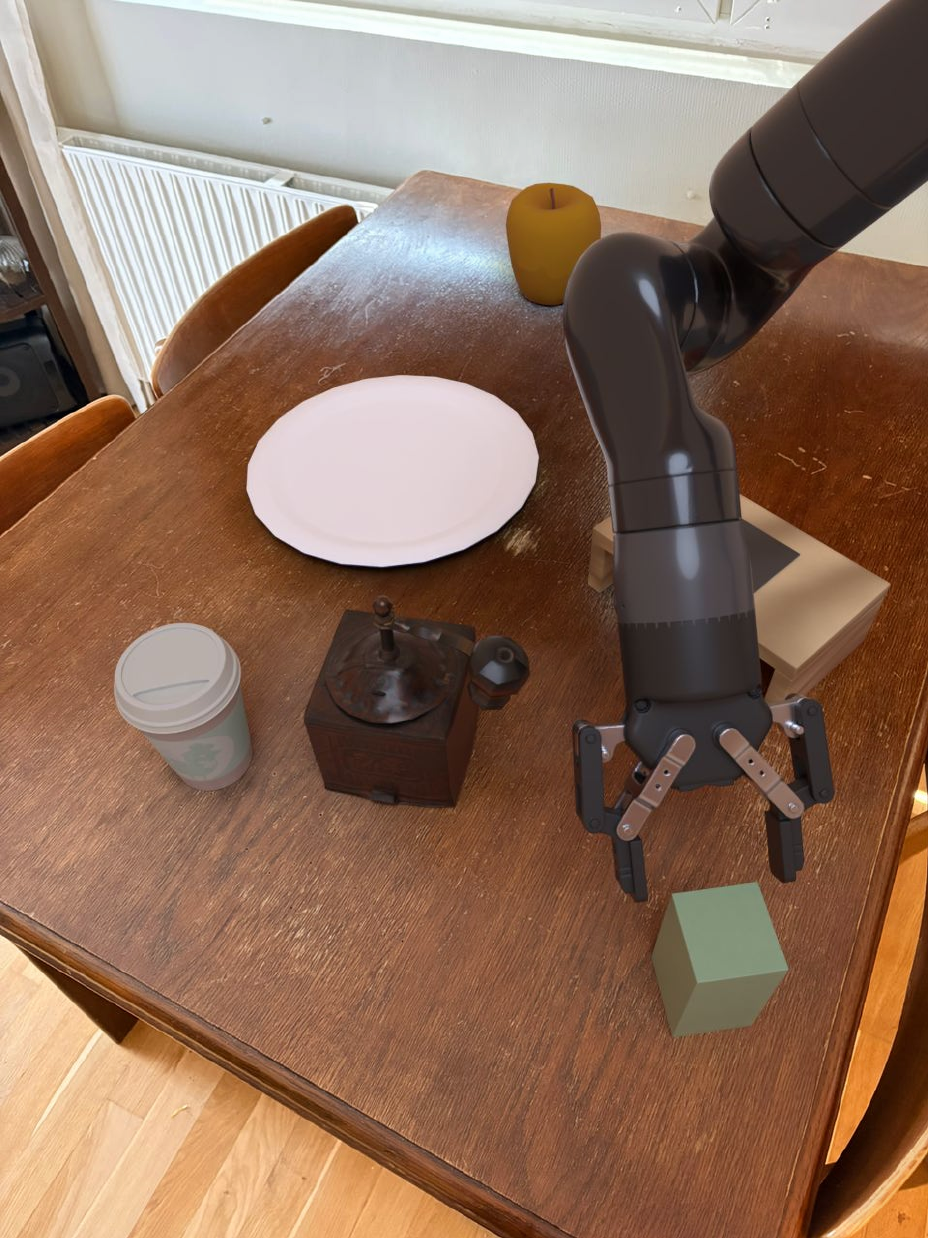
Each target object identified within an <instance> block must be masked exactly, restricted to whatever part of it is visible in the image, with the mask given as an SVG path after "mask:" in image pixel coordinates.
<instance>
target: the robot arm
mask: <svg viewBox="0 0 928 1238" xmlns="http://www.w3.org/2000/svg"><path fill="white" fill-rule="evenodd" d="M927 182H928V0H889V1H887V2H886V3H885V4H884V5H883V6H881V7H880V8H879V9H878V10H876V11H875V12H874V13H872V14H871V16H870V15H869V17H868V18H867V19H865V20H864V21H863V22H862V23H861V24H860V25H858V26H857V27H856V28H855V29H854V30H853V31H851V32H850V33H849V34H848V35H847V36H846V37H844V39H842V40H841V41H840V42H839V43H838V44H837V45H836V46H835V47H833V48H832V49H831V50H830V51H829V52H828V53H827V54H826V55H825V56H824V57H823V58H822V59H821V60H819V61H817V63H816V64H815V65H813V67H811V69H809V71H807V72H806V73H805V74H804V75H803V76H802V77H801V78H800V79H799V80H798V81H797V82H796V83H795V84H794V85H793V86H792V87H791V88H790V89H789V90H788V91H787V92H786V93H785V94H783V95H782V96H781V97H780V98H779V100H777V102H775V103H774V104H773V105H772V106H771V107H770V108H769V109H768V110H767V111H765V113H764V114H763V115H762V116H761V117H760V118H759V119H758V120H756V121H755V122H754V124H753V125H752V126H750V127H749V128H748V129H747V130H746V131H745V132H744V133H743V134H742V135H741V136H740V137H739V138H738V139H737V140H736V141H735V142H734V143H733V144H732V145H731V146H730V148H729V149H728V150H727V151H726V152H725V154H723V156H721V158H720V159H719V161H718V162H717V164H716V166H715V168H714V169H713V171H712V174H711V177H710V181H709V186H708V194H709V195H708V198H709V204H710V209H711V211H712V215H713V217H712V218H711V219H710V221H709V222H708V223H707V224H706V225H705V226H704V227H703V228H702V230H701V231H699V232H698V233H697V234H696V235H694V236H693V237H692V238H690V239H689V240H687V241H685V242H684V241H679V240H674V239H670V238H665V237H660V236H656V235H651V234H648V233H642V232H637V231H621V232H614V233H610V234H607V235H605V236H603V237H601V239H599V240H597V241H596V242H594V243H593V244H592V245H590V246H589V247H588V248H587V249H586V250H585V252H584V253H583V254H582V255H581V257H580V258H579V259H578V261H577V262H576V264H575V266H574V268H573V271H572V273H571V275H570V278H569V281H568V284H567V288H566V292H565V297H564V303H563V306H562V328H563V331H562V332H563V340H564V345H565V348H566V354H567V357H568V359H569V363H570V366H571V369H572V373H573V375H574V379H575V382H576V385H577V387H578V390H579V393H580V395H581V398H582V402H583V404H584V407H585V410H586V414H587V416H588V419H589V422H590V425H591V428H592V430H593V432H594V435H595V437H596V439H597V442H598V444H599V447H600V449H601V451H602V454H603V458H604V460H605V463H606V470H607V473H606V475H607V488H608V498H609V499H608V500H609V508H610V509H609V510H610V516H611V520H612V530H613V533H616V535H614V536H613V542H614V554H613V596H612V601H613V603H612V604H613V609H614V612H615V614H616V621H617V633H618V641H619V642H618V643H619V651H620V662H621V670H622V672H621V673H622V680H623V691H624V701H625V707H624V713H623V715H622V718H621V720H620V721H618V722H617V721H616V722H602V723H591V721H589V720H588V719H583V718H582V719H578V720H576V721H575V722H574V723H573V725H572V728H571V730H572V731H571V733H572V734H571V735H572V736H571V737H572V756H573V778H574V781H573V782H574V799H575V800H574V803H575V814H576V816H577V818H578V819H579V821H580V823H581V824H582V827H583V828H584V829H585V831H586V832H587V833H589V834H594V835H596V834H599V833H600V834H604V835H608V836H609V837H610V838H611V839H610V841H611V850H612V851H611V852H612V860H613V869H614V877H615V880H616V881H617V883H618V885H619V886H620V888H621V890H622V891H623V893H624V895H627V894H629V897H630V898H631V900H632V901H633V902H634V903H635V904H638V903H646V902H648V901H649V895H648V885H647V884H648V883H647V875H646V865H645V855H644V845H643V839H642V838H641V836H640V835H639V832H640V831H641V829H642V827H643V826H644V824H645V823H646V821H647V819H648V818H649V816H650V814H651V813H652V811H654V810H655V809H657V808H658V807H659V806H660V804H661V803H662V801H663V800H664V798H665V796H666V795H667V793H668V791H669V790H670V789H673V790H676V791H678V793H685V792H693V791H695V790H698V789H700V788H703V787H706V786H710V787H711V786H712V787H718V788H719V787H720V788H724V787H731V786H735V782H736V781H738V780H739V779H740V778H743V779H744V780H745V781H746V782H747V783H748V784H749V785H751V786H752V788H753V789H755V791H756V792H757V793H758V794H759V795H760V796H761V797H762V798H763V799H764V800H765V801H766V802H767V803H768V804H769V810H764V820H765V832H766V844H767V854H768V866H769V870H770V873H771V874H772V876H773V877H775V879H777V880H778V881H779V882H780V883H781V884H789V883H790V884H791V883H796V882H797V872H801V871H803V869H804V864H805V852H804V850H805V849H804V841H803V828H802V817H803V815H804V813H805V812H806V810H808V809H810V808H811V807H813V806H815V805H817V804H822V805H825V804H829V803H830V802H831V801H832V800H833V799H834V797H835V786H834V785H835V784H834V779H833V773H832V766H831V759H830V758H831V757H830V752H829V744H828V737H827V731H826V724H825V718H824V711H823V706H822V704H821V703H820V702H819V701H817V700H815V699H813V698H811V697H808V696H806V695H805V696H803V695H799V694H796V693H792V694H789V695H788V696H787V697H786V698H785V700H782V701H777V702H771V703H766V702H765V700H764V698H765V697H764V694H763V692H762V691H763V690H762V683H763V682H762V669H761V659H760V657H759V646H758V635H757V624H756V613H755V602H754V591H753V580H752V568H751V561H750V555H749V551H748V546H747V543H746V539H745V534H744V529H743V522H742V521H741V520H739V519H741V518H742V515H741V504H740V494H741V493H740V484H739V471H738V459H737V450H736V445H735V440H734V437H733V434H732V431H731V429H730V427H729V426H728V424H726V423H725V421H724V420H722V419H720V418H718V417H717V416H715V415H714V414H711V413H709V412H707V411H706V410H704V409H703V408H701V406H700V405H699V404H698V403H697V400H696V398H695V396H694V393H693V390H692V386H691V384H690V380H689V376H694V375H697V374H700V373H703V372H705V371H707V370H710V369H712V368H713V367H715V366H717V365H719V364H721V363H722V362H725V360H727V359H729V358H731V357H732V356H733V355H734V354H736V353H737V352H738V351H739V350H741V349H742V348H744V346H745V345H746V344H748V343H749V342H750V341H751V340H752V339H753V338H754V337H755V336H756V335H757V334H758V333H759V332H760V331H761V329H762V328H763V327H764V326H766V324H767V323H768V322H769V321H770V320H771V319H772V317H773V316H774V315H775V314H776V313H777V312H778V311H779V310H780V309H781V308H782V307H783V305H784V304H785V303H786V302H788V300H789V299H790V298H791V296H793V294H794V293H795V292H796V291H797V289H798V288H799V287H800V285H801V284H802V283H803V281H804V280H805V279H806V277H807V276H808V275H809V274H810V273H811V271H812V270H813V269H814V268H816V266H817V265H819V264H820V263H822V262H823V261H825V260H827V258H829V257H831V256H832V255H833V254H835V253H837V251H839V250H840V249H841V248H843V247H844V246H846V245H847V244H848V243H849V242H851V241H852V240H853V239H855V238H856V237H857V236H858V235H860V234H861V233H862V232H864V231H865V230H866V229H868V228H869V227H870V226H871V225H873V224H874V223H876V222H877V221H878V220H879V219H881V218H882V217H883V216H885V215H886V214H887V213H888V212H890V211H891V210H892V209H894V208H895V207H897V206H898V205H900V204H901V203H902V202H903V201H904V200H905V199H907V198H908V197H909V196H911V195H912V194H913V193H915V192H916V191H917V190H918V189H920V188H921V187H922V186H924V185H926V183H927ZM773 723H775V724H776V725H777V728H778V731H779V732H780V733H781V734H782V735H785V736H787V739H788V744H789V752H790V757H791V758H790V759H791V764H792V770H793V777H794V780H793V781H791V782H789V783H785V781H784V780H783V778H782V777H781V775H780V774H778V772H777V771H776V770H775V769H774V768H773V767H772V766H771V765H770V764H769V763H768V762H767V761H766V760H765V759H764V758H763V756H762V755H761V754H760V753H759V752H758V751H759V749H760V748H761V746H762V744H763V742H764V740H765V739H766V737H767V735H768V734H769V732H770V730H771V729H772V726H773ZM622 742H623V743H624V744H625V745H626V746H627V748H628V749H630V751H631V752H632V753H633V754H634V755H635V756H636V757H637V760H636V761H635V763H634V765H633V766H632V768H631V770H630V771H629V773H628V774H627V776H626V778H625V780H624V782H623V788H622V790H621V792H620V793H619V795H618V797H617V798H616V800H615V802H614V803H613V805H612V807H610V806H607V805H605V788H604V787H605V786H604V764H607V763H608V762H610V761H611V760H612V759H613V758H614V754H615V753H614V752H615V749H616V747H617V745H618V744H620V743H622Z"/></svg>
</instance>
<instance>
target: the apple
mask: <svg viewBox="0 0 928 1238" xmlns="http://www.w3.org/2000/svg"><path fill="white" fill-rule="evenodd" d="M505 232H506V239H507V248H508V253H509V258H510V259H509V260H510V264H511V269H512V272H513V273H512V274H513V276H514V279H515V282H516V284H517V286H518V289H519V290H520V292H521V294H523V296H524V297H525V298H526V299H527V300H529V301H531V302H533V303H535V304H539V305H545V306H559V305H561V304H564V297H565V292H566V288H567V284H568V281H569V278H570V275H571V273H572V271H573V268H574V266H575V264H576V262H577V261H578V259H579V258H580V257H581V255H582V254H583V253H584V252H585V250H586V249H587V248H588V247H589V246H590V245H592V244H593V243H594V242H596V241H597V240H599V239H601V238H602V221H601V214H600V211H599V208H598V206H597V204H596V201H595V199H594V197H593V196H592V195H590V194H588V193H586V192H585V191H583V190H582V189H580V188H579V187H576V186H574V185H572V184H571V185H570V184H566V183H557V182H542V183H541V182H540V183H533V184H532V185H529V186H526V187H525V188H524V189H522V190H521V191H520V192H519V193H518V194H517V195H515V196H514V198H512V200H511V202H510V204H509V207H508V210H507V214H506V220H505Z"/></svg>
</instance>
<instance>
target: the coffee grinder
mask: <svg viewBox="0 0 928 1238" xmlns="http://www.w3.org/2000/svg"><path fill="white" fill-rule="evenodd" d="M371 606H372V608H373V611H374V612H370V611H363V610H357V609H349V608H345V610H344V612H343V613H342V616H341V618H340V620H339V623H338V625H337V627H336V630H335V632H334V634H333V637H332V641H331V643H330V645H329V648H328V651H327V653H326V656H325V658H324V661H323V663H322V666H321V668H320V671H319V673H318V676H317V679H316V681H315V683H314V686H313V687H312V688H313V689H312V691H311V693H310V694H311V695H310V697H309V699H308V702H307V705H306V708H305V710H304V714H303V716H302V717H303V723H304V726H305V728H306V732H307V734H308V738H309V741H310V745H311V748H312V751H313V755H314V757H315V760H316V763H317V766H318V769H319V772H320V774H321V777H322V780H323V784H324V785H323V787H324V790H327V791H332V792H335V793H340V794H345V795H349V796H354V797H357V798H361V799H365V800H370V801H371V802H373V803H377V804H381V805H390V806H391V805H392V806H397V805H405V806H415V807H423V808H455V807H456V805H457V802H458V799H459V795H460V793H461V790H462V788H463V784H464V782H465V779H466V774H467V770H468V766H469V762H470V759H471V754H472V750H473V745H474V741H475V737H476V732H477V727H478V726H477V725H478V718H479V717H478V715H479V708H480V709H481V710H482V711H502V710H503V709H504V708H505V706H507V704H508V703H509V702H510V700H511V696H516V695H518V694H519V692H520V691H521V689H522V688H523V687H524V686H525V684H526V683H527V682H528V680H529V678H530V676H531V669H530V658H529V657H528V654H527V652H526V650H524V648H523V646H522V645H521V644H519V643H518V642H516V641H515V640H514V639H512V638H511V637H508V636H504V635H501V634H499V635H498V634H497V635H488V636H486V637H484V638H482V639H480V640H479V641H478V642H477V633H476V632H477V631H476V626H475V625H469V624H462V623H461V624H460V623H453V622H446V621H439V620H438V621H437V620H433V619H432V620H431V619H423V618H415V617H407V616H400V615H396V614H395V612H394V610H393V607H394V604H393V602H392V600H391V599H390V598H389V597H388V596H387V595H379V596H377V597H376V598H375V599H374V600H373V601H372V604H371Z"/></svg>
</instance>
